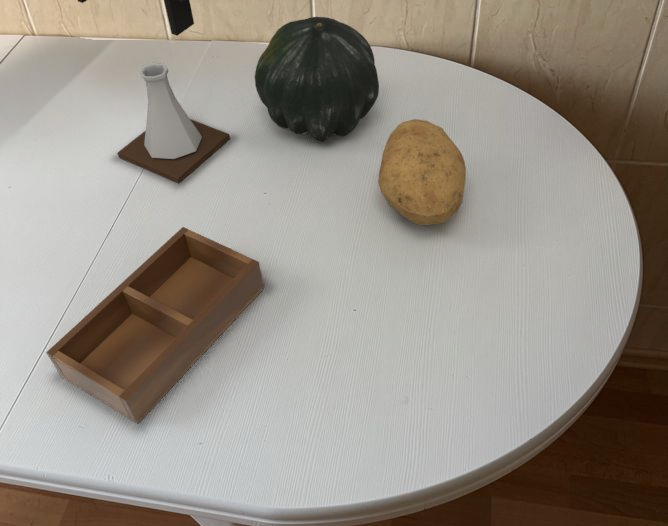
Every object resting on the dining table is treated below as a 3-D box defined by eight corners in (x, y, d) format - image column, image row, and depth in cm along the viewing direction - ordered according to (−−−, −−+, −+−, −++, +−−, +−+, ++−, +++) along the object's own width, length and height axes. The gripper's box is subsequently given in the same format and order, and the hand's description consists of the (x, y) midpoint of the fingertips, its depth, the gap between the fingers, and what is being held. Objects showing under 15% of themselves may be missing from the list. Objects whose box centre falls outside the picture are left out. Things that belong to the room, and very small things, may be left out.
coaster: (118, 157, 88) (116, 152, 88) (171, 116, 93) (169, 110, 92) (178, 183, 85) (177, 178, 84) (230, 139, 89) (229, 133, 89)
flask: (200, 121, 91) (183, 48, 83) (204, 156, 86) (186, 82, 78) (144, 129, 90) (122, 57, 82) (145, 165, 86) (121, 91, 78)
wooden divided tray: (61, 377, 68) (45, 352, 65) (191, 253, 77) (183, 226, 74) (137, 424, 64) (125, 400, 61) (264, 288, 74) (259, 261, 70)
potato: (384, 253, 76) (385, 196, 69) (372, 170, 84) (371, 112, 78) (475, 246, 76) (483, 188, 69) (453, 163, 84) (459, 105, 78)
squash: (294, 32, 94) (254, -18, 79) (401, 53, 90) (379, 5, 76) (268, 138, 96) (223, 108, 81) (372, 163, 92) (345, 136, 78)
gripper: (212, -234, 55) (248, 26, 72) (1, -269, 64) (77, -30, 81) (148, -206, 52) (202, 61, 69) (-67, -247, 61) (28, -1, 78)
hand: (134, 12), depth 75 cm, fingers open, 13 cm apart
